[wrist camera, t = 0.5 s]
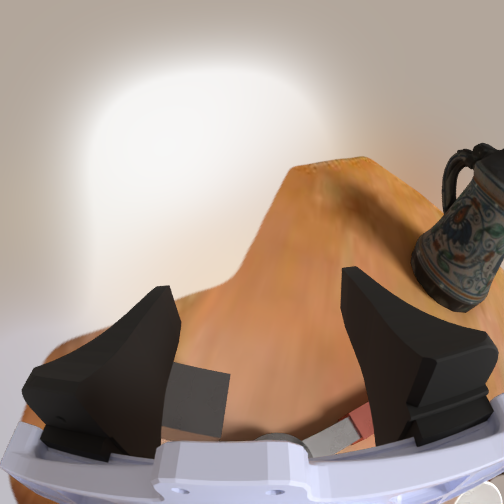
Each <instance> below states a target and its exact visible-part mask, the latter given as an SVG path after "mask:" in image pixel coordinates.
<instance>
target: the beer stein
mask: <svg viewBox="0 0 504 504" xmlns="http://www.w3.org/2000/svg"><path fill="white" fill-rule="evenodd" d="M464 167H469V168H470V169H473V170H474V176H473V179H472V181H471V182H470V183H469V185H468V186H467V187H466V189H465V190H464V191H463V192H462V193H461V195H460V196H459V197H458V198H457V200H456V184H457V177H458V174H459V172H460V171H461V170H462V169H463V168H464ZM442 205H443V212H444V216H443V217H442V218H441V219H440V220H439V221H438V222H437V223H436V224H435V225H434V226H433V227H432V228H431V229H430V230H428V231H427V232H425V233H423V234H422V235H421V236H420V237H419V239H418V240H417V243H416V246H415V249H414V251H413V253H412V258H411V265H412V268H413V272H414V274H415V276H416V278H417V280H418V282H419V283H420V284H421V285H422V287H423V288H424V289H425V291H426V292H427V293H428V294H429V295H430V296H431V297H432V298H433V299H434V300H435V301H436V302H437V303H438V304H440V305H442V306H444V307H446V308H448V309H449V310H451V311H453V312H463V313H466V312H468V311H469V310H471V309H472V308H474V307H475V306H477V305H478V304H479V303H481V302H482V301H483V300H484V299H485V298H486V297H487V295H488V292H489V289H490V286H491V283H492V281H493V279H494V277H495V275H496V273H497V271H498V269H499V267H500V265H501V263H502V261H503V259H504V149H502V150H497V149H495V148H493V147H492V146H490V145H488V144H485V143H480V144H478V145H476V146H475V147H474V148H473V151H471V150H469V149H463V150H458V151H457V153H456V154H454V155H453V156H452V157H451V158H450V159H449V161H448V163H447V165H446V167H445V170H444V175H443V181H442Z"/></svg>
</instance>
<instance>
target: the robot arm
mask: <svg viewBox="0 0 504 504" xmlns="http://www.w3.org/2000/svg"><path fill="white" fill-rule="evenodd" d="M340 308H341V312H342V316H343V320H344V324H345V328H346V331H347V333H348V336H349V338H350V341H351V344H352V346H353V349H354V351H355V354H356V357H357V359H358V362H359V365H360V367H361V371H362V374H363V377H364V382H365V386H366V390H367V395H368V400H369V405H370V410H371V416H372V422H373V428H374V435H375V444H376V447H372V448H368V449H363V450H358V451H353V452H347V453H342V454H336V455H329V456H323V457H315V458H308V453H307V452H306V450H305V449H304V448H303V446H301V445H299V444H296V443H292V442H289V441H283V440H259V441H229V442H208V441H172V442H166V443H164V444H162V445H161V429H162V418H163V408H164V400H165V393H166V388H167V383H168V379H169V376H170V372H171V369H172V365H173V361H174V358H175V354H176V351H177V347H178V343H179V337H180V330H181V320H180V317H179V314H178V311H177V308H176V305H175V301H174V298H173V295H172V292H171V289H170V286H157V287H155V288H154V289H153V290H151V291H150V292H149V293H148V294H147V295H146V296H145V297H144V298H143V299H142V300H141V301H140V302H138V303H137V304H136V305H135V306H134V307H133V308H132V309H131V310H130V311H129V312H128V313H127V314H126V315H124V316H123V317H122V318H121V319H120V320H118V321H117V322H116V323H115V324H114V325H113V326H111V327H110V328H109V329H107V330H106V331H105V332H103V333H102V334H101V335H99V336H98V337H96V338H95V339H93V340H92V341H90V342H89V343H87V344H85V345H84V346H82V347H80V348H79V349H77V350H75V351H73V352H71V353H69V354H67V355H65V356H63V357H61V358H59V359H56V360H54V361H52V362H49V363H46V364H43V365H41V366H38V367H35V368H34V369H33V370H32V372H31V374H30V376H29V377H28V379H27V381H26V383H25V385H24V386H23V388H22V395H23V397H24V399H25V401H26V403H27V404H28V405H29V407H30V408H31V409H32V410H33V411H34V412H35V413H36V414H37V416H38V417H39V418H40V419H41V420H42V421H43V422H44V423H45V424H46V425H45V428H44V430H42V429H41V428H39V427H37V426H34V425H31V424H28V423H24V422H21V421H20V422H19V423H18V425H17V427H16V429H15V431H14V433H13V435H12V437H11V440H10V442H9V444H8V446H7V449H6V451H5V453H4V456H3V458H2V460H1V463H0V467H1V468H2V469H3V470H4V471H6V472H7V473H8V474H10V475H11V476H12V477H14V478H15V479H16V480H18V481H19V482H20V483H22V484H23V485H25V486H26V487H28V488H29V489H30V490H32V491H33V492H35V493H36V494H39V495H41V496H43V497H45V498H48V499H50V500H52V501H55V502H57V503H59V504H442V503H444V502H446V501H448V500H450V499H452V498H455V497H457V496H459V495H461V494H463V493H465V492H467V491H469V490H471V489H473V488H475V487H477V486H479V485H480V484H482V483H484V482H486V481H488V480H490V479H492V478H493V477H495V476H497V475H499V474H500V473H502V472H504V393H502V394H500V395H498V396H496V397H494V398H493V399H492V400H491V401H490V402H489V400H488V398H487V397H486V395H487V394H488V393H489V390H488V388H487V386H486V384H485V383H486V382H487V380H488V378H489V376H490V375H491V373H492V371H493V369H494V367H495V365H496V363H497V360H498V354H499V352H498V349H497V347H496V346H495V344H494V343H493V341H492V340H491V339H490V337H489V336H488V334H487V333H486V332H484V331H480V330H475V329H471V328H466V327H462V326H459V325H456V324H453V323H449V322H447V321H444V320H441V319H439V318H436V317H434V316H432V315H429V314H427V313H425V312H423V311H421V310H419V309H417V308H415V307H413V306H412V305H410V304H408V303H406V302H405V301H403V300H401V299H400V298H398V297H397V296H395V295H394V294H392V293H391V292H389V291H388V290H387V289H385V288H384V287H383V286H381V285H380V284H379V283H377V282H376V281H375V280H373V279H372V278H371V277H369V276H368V275H367V274H366V273H364V272H363V271H362V270H361V269H359V268H358V267H356V266H354V267H345V268H342V283H341V307H340Z"/></svg>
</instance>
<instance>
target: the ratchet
mask: <svg viewBox="0 0 504 504" xmlns="http://www.w3.org/2000/svg"><path fill="white" fill-rule="evenodd" d="M338 421H339V422H338V423H336V424H334V425H332V426H331V427H329V428H327V429H325V430H323V431H321V432H319V433H317V434H315V435H313V436H311V437H309V438H307V439H305V440H303V441H301V440H299V439H298V438H296V437H294V436H291V435H288V434H284V433H271V434H266V435H263V436H261V437H259V438H257V439H255V440H254V441H259V440H283V441H289V442H292V443H296V444H299V445H301V446H303V448H304V449H305V450H306V452H307V453H308V458H315V457H323V456H329V455H333V454H335V453H337V452H339V451H340V450H342V449H344V448H345V447H347V446H349V445H350V444H352V445H353V444H355V443H358V442H360V441H362V440H364V439H366V438H367V437H369V436H371V435H372V434H374V428H373V422H372V416H371V410H370V405H369V402H367V403H365V404H364V405H362V406H360V407H359V408H357V409H355V410H353V411H352V412H350V413H348V414H347V415H345V416H344V417H342V418H340V419H339V420H338Z"/></svg>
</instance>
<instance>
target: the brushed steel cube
mask: <svg viewBox="0 0 504 504" xmlns="http://www.w3.org/2000/svg"><path fill="white" fill-rule="evenodd" d="M229 380H230V374H227V373H222V372H217V371H212V370H207V369H202V368H197V367H193V366H188V365H184V364H179V363H175V362H173V365H172V369H171V372H170V376H169V379H168V383H167V388H166V393H165V400H164V408H163V418H162V429H161V438H162V439H166V440H170V441H208V442H219V440H220V439H221V434H222V427H223V421H224V414H225V407H226V401H227V394H228V387H229Z"/></svg>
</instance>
